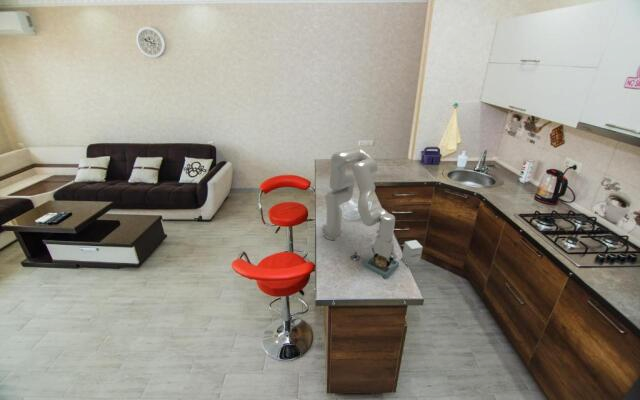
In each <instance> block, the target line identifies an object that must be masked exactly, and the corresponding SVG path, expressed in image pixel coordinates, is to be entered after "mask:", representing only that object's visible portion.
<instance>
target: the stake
mask: <svg viewBox="0 0 640 400" xmlns="http://www.w3.org/2000/svg"><path fill="white" fill-rule="evenodd" d="M349 259H350V260H351V261H353V262H358V261H360V260H361V259H362V258H361V256H360V255H358V251H354V252H353V254H351V255H350V256H349Z"/></svg>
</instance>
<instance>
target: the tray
mask: <svg viewBox="0 0 640 400" xmlns="http://www.w3.org/2000/svg"><path fill="white" fill-rule="evenodd" d="M373 262H374V255H373V256H371V258H369V259H368V260H366V261H365V262H364V267H365V268H366V269H369V270H370V271H372V272H374V273H376V274H378V275H380V276H382V278H383V279H385V280H387V279H388V278H389V277H390V276H391V275H392V274H393V273H394V272H395V271H396V270H397V269H398V268H397V267H399V266H400V262H399V260H396V259H394V260H392V261H391V264H392V266H391V268H389V269H388V270H387V271H386V272H385V271H383V270H381V269H380V268H377V267H375V266H374V265H372V264H371V263H373ZM396 268H397V269H396Z"/></svg>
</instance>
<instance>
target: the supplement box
mask: <svg viewBox="0 0 640 400" xmlns="http://www.w3.org/2000/svg"><path fill="white" fill-rule="evenodd" d="M403 244H404V245H403V249H402V255H401V260H402V261H403V263H404V262H405V263H404V264H405V265H406V263H407V265H408V266H407V265H406V266H407V267H408V268H409V267H414V266H420V264H421V263H420V262H421V258H422V253H423V248H424V246H422V244H420V242H419V241H418V240H416V239H414V240H407V241H404V242H403ZM405 260H406V261H405Z"/></svg>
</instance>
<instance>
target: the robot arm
mask: <svg viewBox="0 0 640 400" xmlns="http://www.w3.org/2000/svg"><path fill="white" fill-rule="evenodd" d="M348 166H352V172H351V171H347V169H346V167H348ZM330 167H331V168H330V173H329V174H330V176H329V188H330V189H331V191H328V192H327V193H326V194H325V198H324V199H325V205H326V224H325V223H324V224H323V226H322V229H323V230H324V232H323V236H324V238H326V239H327V240H329V241H336V240H338V239H341V238H342V237H344V233H343V230H342V223H343V222H342V220H343V219H342V217H343V210H342V208H341V207H340V205H343V204H344V203H347V202H350V201H351V200H352V198H353V193H354V187H355V182H356V185H357V187H358V190H359V196H358V199H357V200H358V202H357V210H358V214H359V217H360V219H361V221H362V223H363V224H364V226H366V227H372V226H374V225H377V224H379V227H378V229H377V230H376V233H377V235H376V237H375V239H374V243H373V244H371V245H369V246H370V249H371V251H372V253H373V256H374V260H373V262H375V257H376V256H378V255H381V256H383V257H386V258H387V264H386V267H385V268H388V267H389V266H391V265H392V263H391V261H392V260H396V259H397V258H398V256H397V254H396V253H395V251H394V249H395V243H394V239H393V237H394V230H395V226H396V225H395V224H396V216H395V215H393V214H392V213H389V212H388V211H387V210H386V209H385V208H383V207H380V206H379V207H376V208H373V209H369V200H370V199H371V198H370V197H371V196H372V194H374V192H375V190H376V185H375V182H374V179H373V177H372V174H375V173H376V172H377V171H378V164H377V161H376V160H375V159H374V158H373V157H372V156H371V155H369V154H368V153H367V152H365V150H363V149H361V148H357V147H356V148H351V149H347V150H343V151H338V152H334V153H333V154H332V155H331V158H330Z"/></svg>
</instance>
